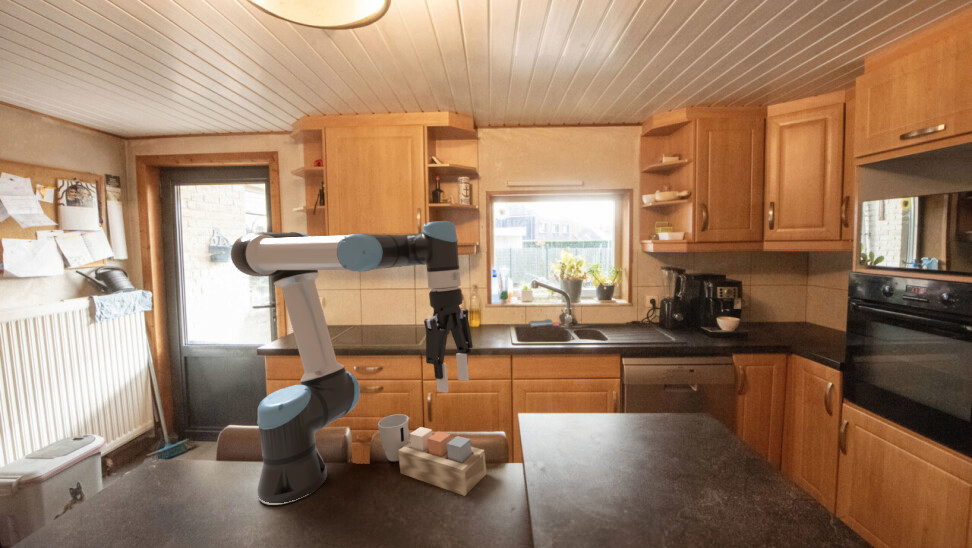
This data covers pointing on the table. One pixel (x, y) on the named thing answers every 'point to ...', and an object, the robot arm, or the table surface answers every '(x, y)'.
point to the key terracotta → (439, 444)
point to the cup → (394, 434)
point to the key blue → (459, 449)
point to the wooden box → (443, 469)
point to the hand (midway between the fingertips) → (453, 385)
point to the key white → (420, 439)
